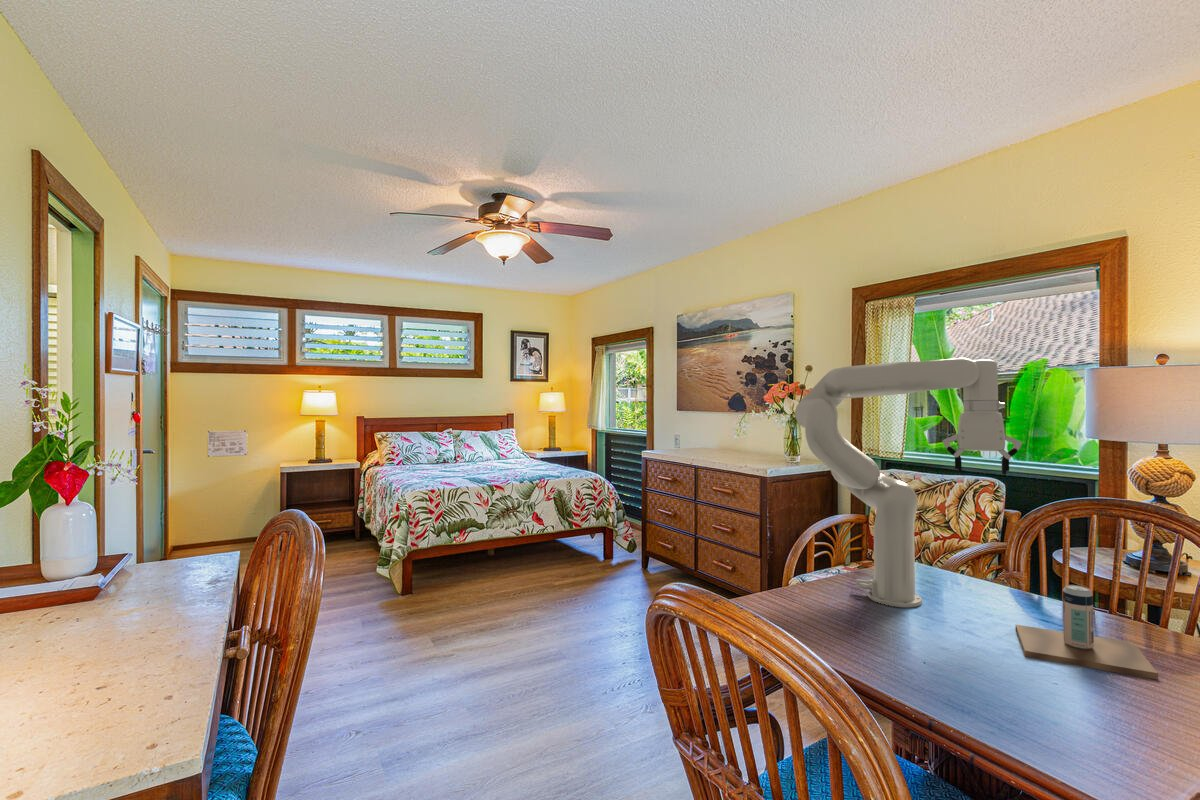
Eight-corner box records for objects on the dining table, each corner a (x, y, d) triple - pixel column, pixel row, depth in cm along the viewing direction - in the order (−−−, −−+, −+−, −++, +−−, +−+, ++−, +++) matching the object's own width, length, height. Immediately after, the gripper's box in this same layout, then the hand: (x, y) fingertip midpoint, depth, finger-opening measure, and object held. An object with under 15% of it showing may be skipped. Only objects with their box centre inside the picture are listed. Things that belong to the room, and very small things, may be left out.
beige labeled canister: (1082, 641, 121) (1081, 584, 121) (1099, 651, 116) (1098, 591, 116) (1058, 640, 121) (1057, 583, 122) (1074, 650, 117) (1073, 591, 117)
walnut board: (1025, 656, 117) (1024, 650, 117) (1015, 629, 131) (1015, 624, 131) (1158, 679, 107) (1158, 673, 107) (1132, 648, 120) (1132, 642, 120)
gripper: (1019, 407, 149) (1020, 473, 149) (941, 407, 158) (942, 470, 157) (1023, 407, 142) (1024, 476, 142) (942, 407, 151) (943, 472, 151)
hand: (981, 473), depth 150 cm, fingers open, 9 cm apart
